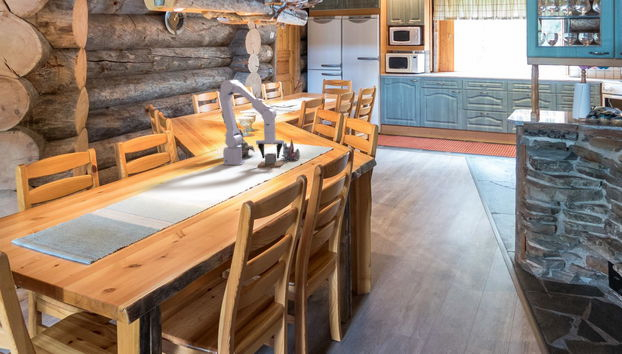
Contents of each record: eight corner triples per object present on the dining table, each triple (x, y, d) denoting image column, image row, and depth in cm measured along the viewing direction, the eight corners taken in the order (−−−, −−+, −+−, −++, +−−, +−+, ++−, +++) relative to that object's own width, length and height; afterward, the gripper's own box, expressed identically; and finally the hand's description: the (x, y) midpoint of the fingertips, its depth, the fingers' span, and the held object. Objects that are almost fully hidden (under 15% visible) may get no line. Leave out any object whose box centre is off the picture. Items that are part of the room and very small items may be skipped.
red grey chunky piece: (302, 156, 305) (288, 139, 303) (286, 169, 307) (273, 151, 306) (305, 153, 316) (292, 136, 314) (290, 164, 318) (277, 147, 317)
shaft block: (257, 167, 292) (257, 158, 291) (261, 163, 302) (261, 155, 301) (280, 167, 291) (280, 158, 290) (283, 163, 300) (283, 155, 299)
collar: (265, 164, 294) (264, 155, 292) (267, 162, 298) (266, 153, 297) (274, 164, 293) (274, 155, 292) (276, 162, 298) (276, 153, 297)
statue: (224, 163, 313) (208, 110, 312) (230, 162, 332) (215, 112, 330) (253, 154, 312) (237, 102, 311) (257, 154, 331) (242, 104, 329)
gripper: (254, 133, 289) (255, 159, 292) (282, 133, 287) (283, 159, 291) (257, 131, 296) (258, 156, 299) (284, 131, 294) (285, 157, 297)
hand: (270, 158), depth 295 cm, fingers open, 7 cm apart
